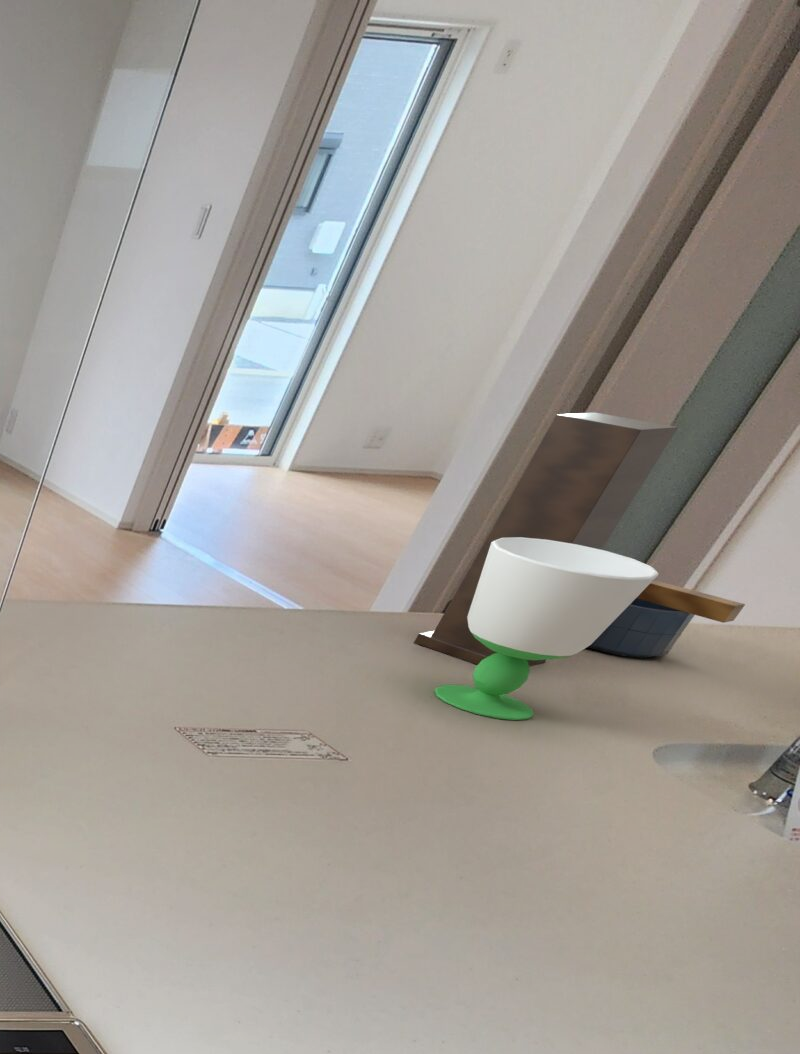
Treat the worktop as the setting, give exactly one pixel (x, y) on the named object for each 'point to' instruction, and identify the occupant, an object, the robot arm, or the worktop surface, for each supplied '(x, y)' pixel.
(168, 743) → the worktop surface
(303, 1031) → the worktop surface
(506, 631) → the cup
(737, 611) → the wooden bar
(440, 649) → the tall brown box
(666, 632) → the bowl
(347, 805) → the worktop surface
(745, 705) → the worktop surface
